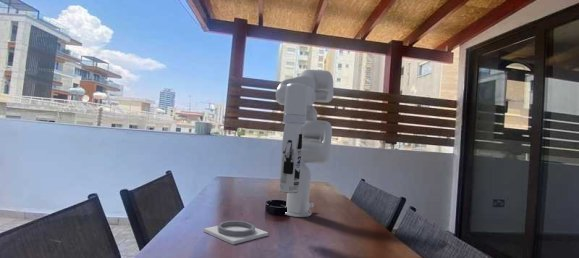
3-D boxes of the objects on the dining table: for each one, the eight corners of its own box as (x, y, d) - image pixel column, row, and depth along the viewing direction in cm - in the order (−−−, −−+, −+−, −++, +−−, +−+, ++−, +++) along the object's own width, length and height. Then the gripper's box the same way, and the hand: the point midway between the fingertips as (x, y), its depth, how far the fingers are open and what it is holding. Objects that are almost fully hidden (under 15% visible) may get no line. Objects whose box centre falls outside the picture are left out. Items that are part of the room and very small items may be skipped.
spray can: (296, 194, 115) (301, 134, 114) (276, 192, 116) (281, 132, 116) (299, 190, 122) (304, 133, 121) (281, 188, 123) (285, 132, 122)
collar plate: (238, 224, 126) (238, 217, 126) (267, 235, 116) (268, 228, 116) (203, 231, 114) (204, 223, 114) (233, 244, 104) (233, 236, 104)
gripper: (288, 119, 127) (284, 167, 128) (278, 118, 110) (273, 174, 111) (308, 121, 126) (304, 170, 127) (301, 120, 109) (296, 177, 110)
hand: (290, 171), depth 119 cm, fingers closed on spray can, 6 cm apart
